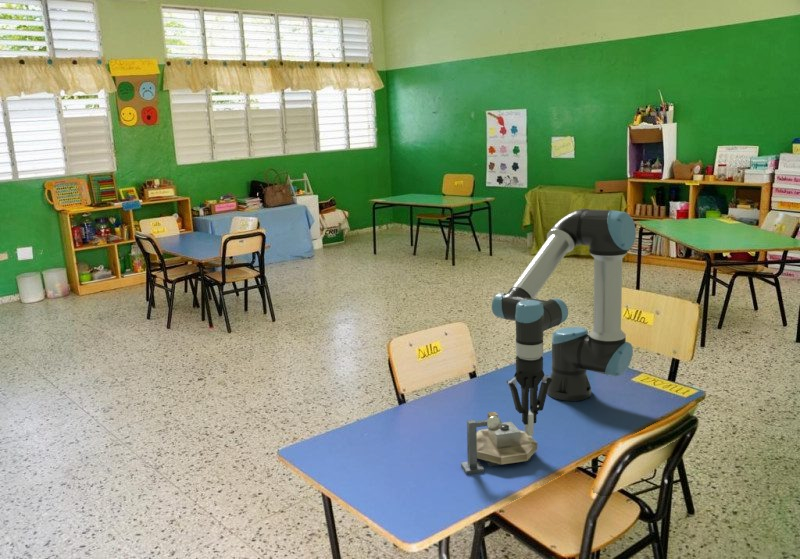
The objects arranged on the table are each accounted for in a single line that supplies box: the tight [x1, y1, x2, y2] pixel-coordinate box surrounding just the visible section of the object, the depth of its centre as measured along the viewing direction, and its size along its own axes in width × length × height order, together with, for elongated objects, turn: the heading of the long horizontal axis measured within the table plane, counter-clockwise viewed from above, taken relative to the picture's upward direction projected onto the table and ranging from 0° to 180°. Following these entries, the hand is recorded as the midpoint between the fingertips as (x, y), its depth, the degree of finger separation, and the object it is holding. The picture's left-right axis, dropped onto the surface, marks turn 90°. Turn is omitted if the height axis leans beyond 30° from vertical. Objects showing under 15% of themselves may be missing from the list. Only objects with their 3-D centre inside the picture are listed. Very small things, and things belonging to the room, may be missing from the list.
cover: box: [487, 421, 521, 448], centre depth 190 cm, size 7×7×5 cm
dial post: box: [460, 416, 503, 475], centre depth 182 cm, size 10×5×15 cm, turn 102°
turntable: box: [477, 411, 538, 465], centre depth 190 cm, size 18×18×7 cm
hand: (529, 433), depth 192 cm, fingers closed
